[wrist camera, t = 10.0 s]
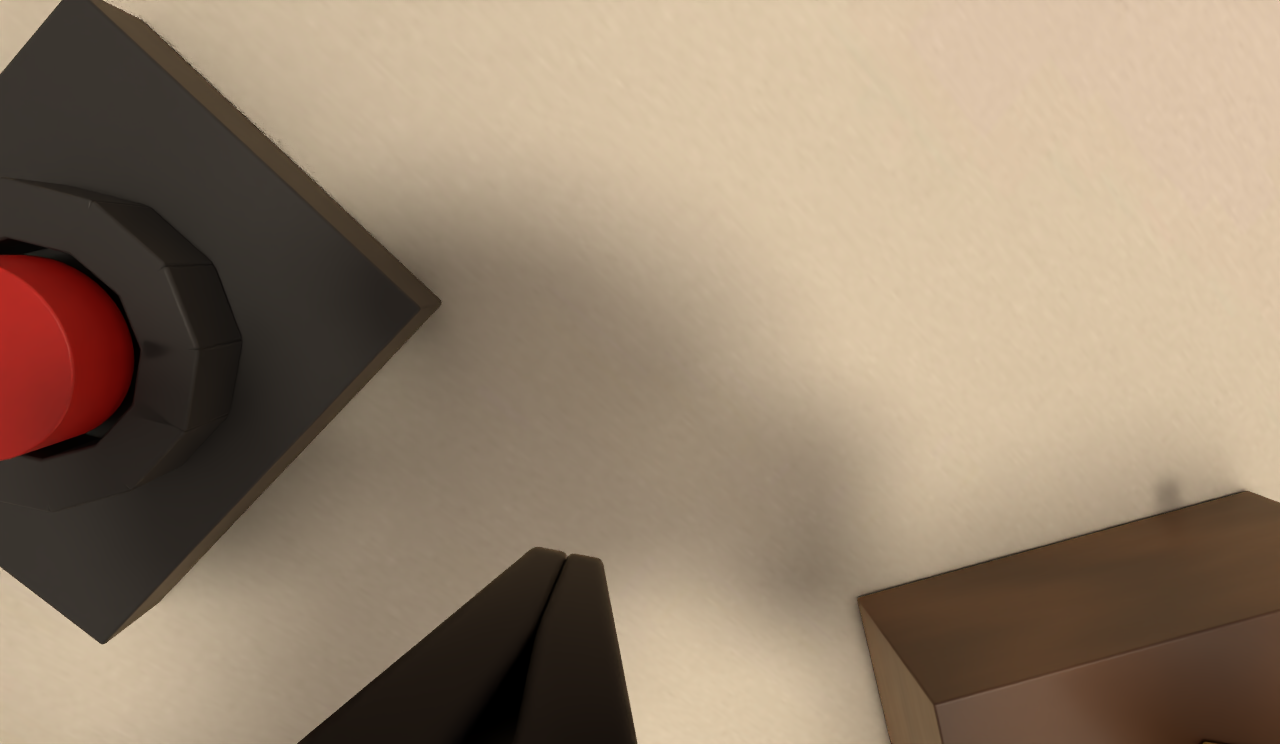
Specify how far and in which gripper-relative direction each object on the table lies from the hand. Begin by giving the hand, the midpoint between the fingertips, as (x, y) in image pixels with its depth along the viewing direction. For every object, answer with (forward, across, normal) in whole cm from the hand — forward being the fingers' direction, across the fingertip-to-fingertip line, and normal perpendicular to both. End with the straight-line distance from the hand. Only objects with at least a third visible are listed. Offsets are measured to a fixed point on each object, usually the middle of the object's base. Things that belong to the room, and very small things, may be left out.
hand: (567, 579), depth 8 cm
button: (+5, +13, +2) cm, 14 cm away
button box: (+9, +13, +3) cm, 16 cm away
